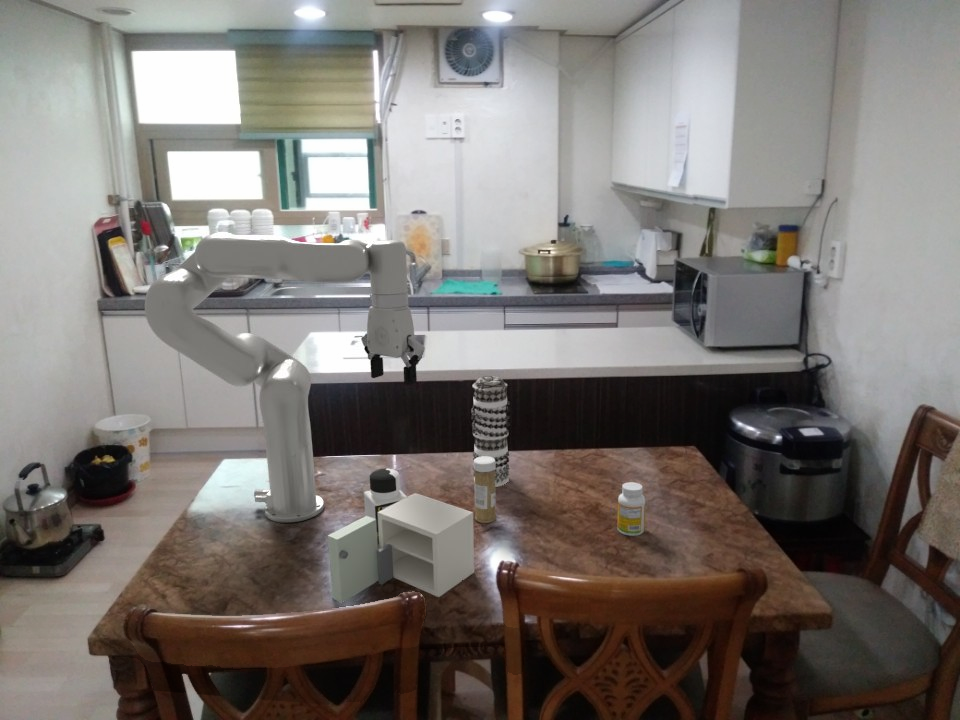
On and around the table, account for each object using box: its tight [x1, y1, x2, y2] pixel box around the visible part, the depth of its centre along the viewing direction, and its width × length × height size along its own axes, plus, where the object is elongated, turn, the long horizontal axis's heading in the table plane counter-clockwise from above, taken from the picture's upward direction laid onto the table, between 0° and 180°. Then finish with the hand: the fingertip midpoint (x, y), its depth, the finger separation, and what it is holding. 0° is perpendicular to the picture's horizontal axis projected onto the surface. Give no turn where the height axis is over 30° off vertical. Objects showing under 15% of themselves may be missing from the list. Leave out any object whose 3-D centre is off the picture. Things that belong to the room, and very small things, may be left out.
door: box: [327, 515, 379, 603], centre depth 127 cm, size 3×9×12 cm, turn 142°
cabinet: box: [377, 492, 475, 598], centre depth 132 cm, size 16×13×12 cm
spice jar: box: [473, 456, 497, 524], centre depth 152 cm, size 5×5×13 cm
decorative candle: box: [470, 375, 511, 488], centre depth 170 cm, size 9×9×25 cm
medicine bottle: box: [363, 468, 408, 537], centre depth 150 cm, size 7×7×12 cm
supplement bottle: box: [616, 481, 646, 537], centre depth 147 cm, size 5×5×10 cm
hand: (393, 380), depth 155 cm, fingers open, 9 cm apart
